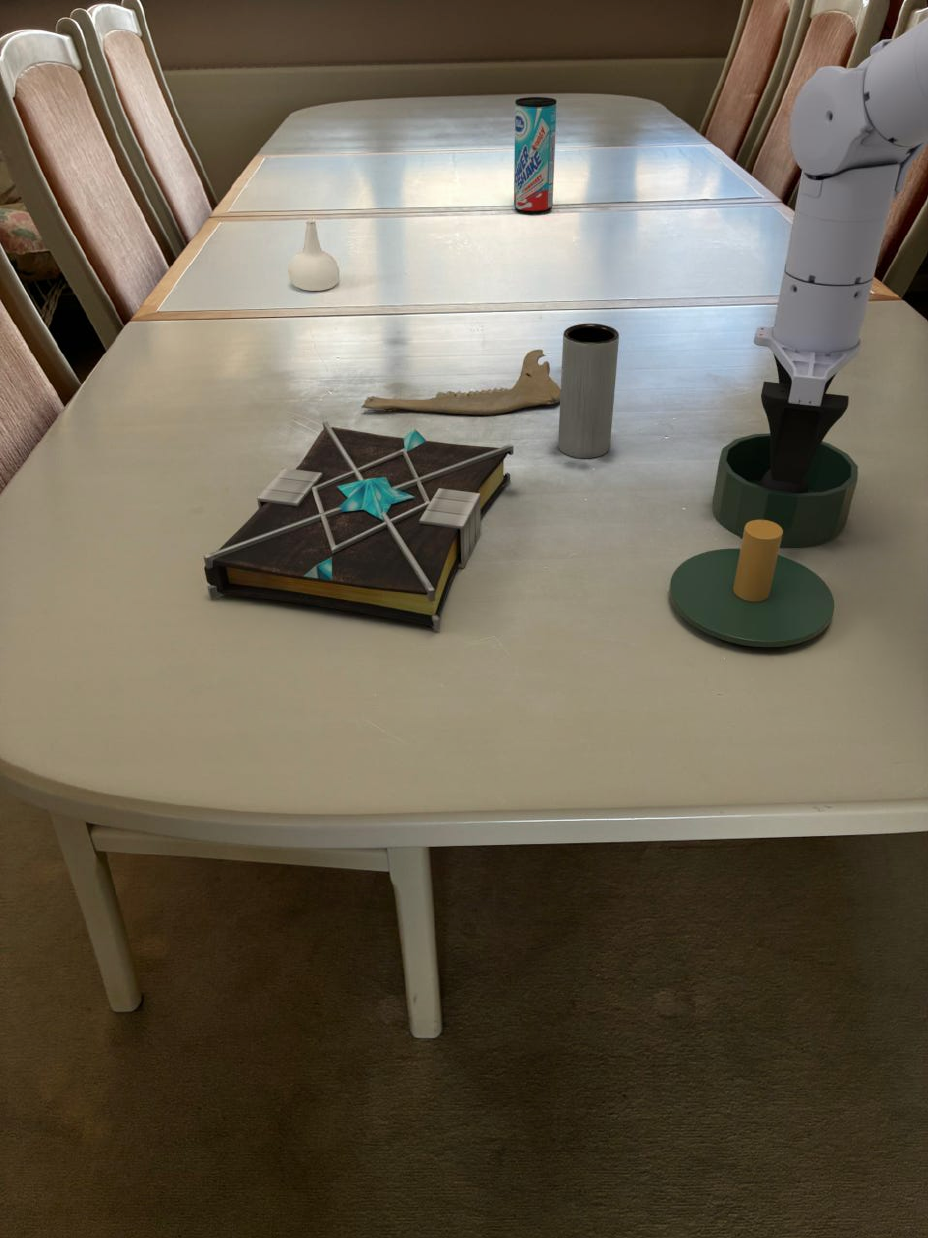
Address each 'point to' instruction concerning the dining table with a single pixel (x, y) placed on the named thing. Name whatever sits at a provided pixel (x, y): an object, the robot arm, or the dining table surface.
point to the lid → (752, 592)
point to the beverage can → (534, 154)
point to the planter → (587, 389)
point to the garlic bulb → (313, 264)
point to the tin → (795, 513)
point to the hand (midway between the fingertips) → (790, 456)
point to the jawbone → (486, 394)
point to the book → (364, 525)
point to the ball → (783, 484)
